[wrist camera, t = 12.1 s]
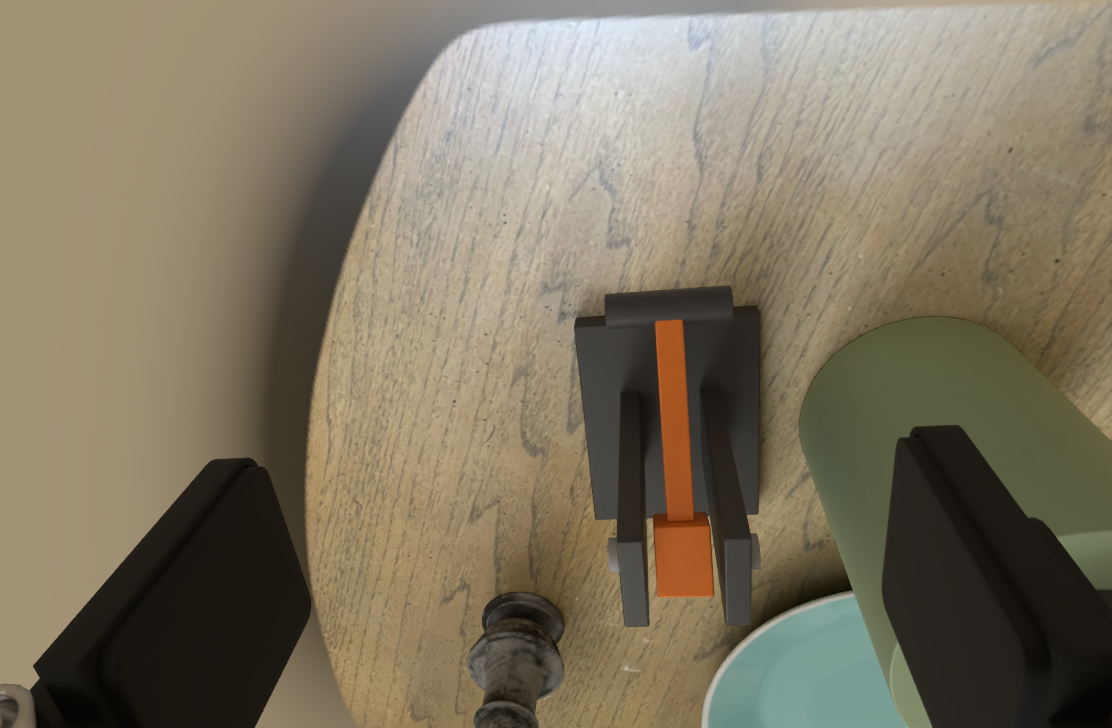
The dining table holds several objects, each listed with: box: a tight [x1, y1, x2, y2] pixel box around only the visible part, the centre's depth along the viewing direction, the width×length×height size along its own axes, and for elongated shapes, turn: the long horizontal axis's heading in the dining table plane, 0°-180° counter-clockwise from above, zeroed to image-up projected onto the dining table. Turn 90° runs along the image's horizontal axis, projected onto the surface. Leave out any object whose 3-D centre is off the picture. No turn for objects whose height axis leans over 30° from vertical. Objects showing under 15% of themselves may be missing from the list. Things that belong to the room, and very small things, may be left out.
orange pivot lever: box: [605, 285, 733, 597], centre depth 31 cm, size 12×5×2 cm, turn 7°
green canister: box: [799, 317, 1112, 728], centre depth 32 cm, size 12×13×18 cm
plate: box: [702, 590, 908, 728], centre depth 47 cm, size 22×22×3 cm
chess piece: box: [467, 592, 564, 728], centre depth 43 cm, size 6×6×12 cm
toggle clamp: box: [574, 306, 761, 627], centre depth 35 cm, size 12×9×13 cm
